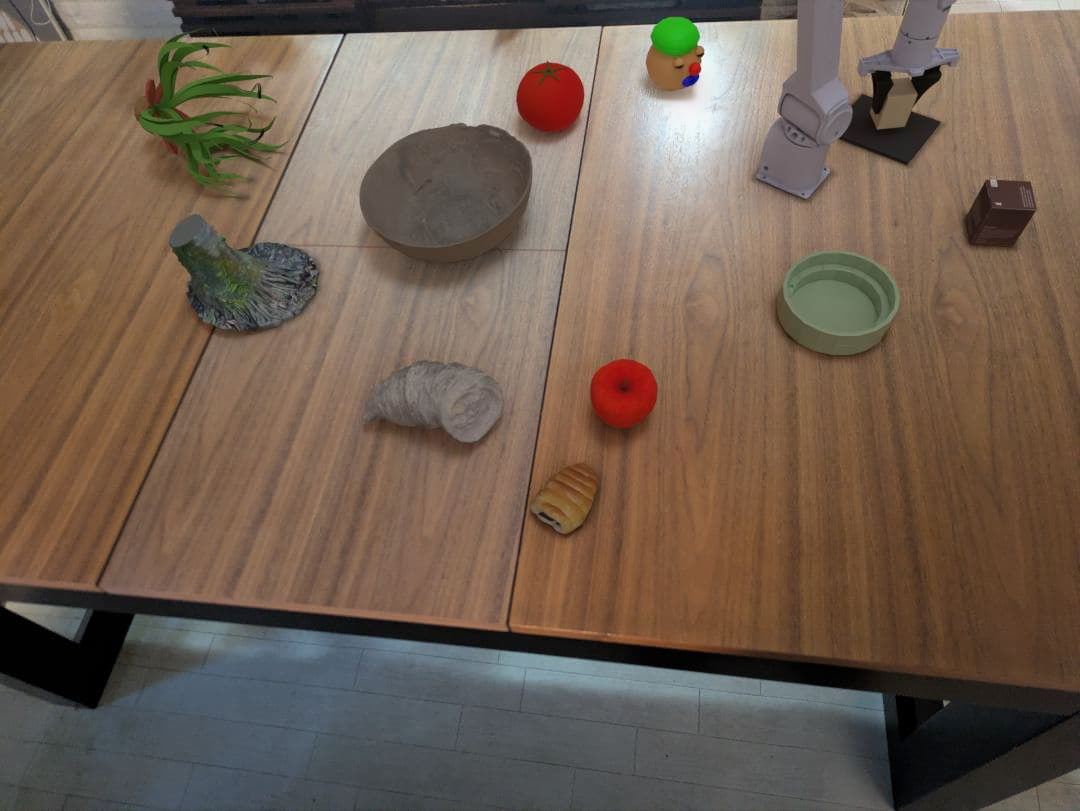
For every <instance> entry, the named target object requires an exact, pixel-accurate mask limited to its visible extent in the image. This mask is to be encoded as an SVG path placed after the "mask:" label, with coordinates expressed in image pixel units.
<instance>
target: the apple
mask: <svg viewBox="0 0 1080 811" xmlns="http://www.w3.org/2000/svg"><path fill="white" fill-rule="evenodd" d="M658 391H659V386H658V382H657V380H656V378H655V376H654V373H653V372H652V370H651V369H650V368H649V367H648V366H647V365H645V364H643V363H641V362H639V361H637V360H635V359H627V358H619V359H614V360H613V361H610V362H608V363H607V364H605V365H603V366H600V367H599V369H598V370H597V371H596V372H595V373H594V374H593V376H592V378H591V381H590V390H589V396H590V403H591V406H592V409H593V410H594V412H595V414H596V415H597V417H599V418H600V419H601V421H603V422H604V423H606V424H607V425H608V426H610V427H612V428H617V429H628V428H633V427H634V426H636V425H637V424H638V423H640V422H641V421H643V420H644V419H645V418H646V417H647V416H648V415H650V413H652V412H653V410H654V408H655V405H656V403H657V400H658Z"/></svg>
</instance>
